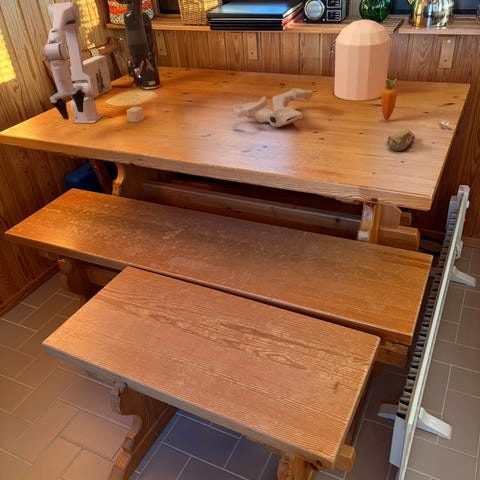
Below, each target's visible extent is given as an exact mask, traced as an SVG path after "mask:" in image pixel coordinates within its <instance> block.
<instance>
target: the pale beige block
mask: <svg viewBox="0 0 480 480" xmlns="http://www.w3.org/2000/svg"><path fill="white" fill-rule="evenodd" d="M125 112H126V116H127V120H128V122H130V123H131V122H133V123H139V122H140V121H143V120H144V119H145V114H144V111H143V107H137V106H132V107H130V108H128V109H126V110H125Z"/></svg>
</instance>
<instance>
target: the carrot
mask: <svg viewBox="0 0 480 480" xmlns="http://www.w3.org/2000/svg"><path fill="white" fill-rule="evenodd" d="M397 81H398V78H395V79H394V80H393V82H391V79H390V78H387V79H386V89H384V90H383V91H382V96H381V97H380V98H381V100H380V101H381V102H380V104H381V112H382V113H381V114H382V117H383V119H384V120H385V121H386V122H388V121H389V119H390V118H391V117H392V114H393V112H394V109H395V106H396V101H397V96H398V95H397V94H398V91H397V89H395V88H394V86H395V85H396V83H397Z"/></svg>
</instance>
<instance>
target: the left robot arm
mask: <svg viewBox="0 0 480 480" xmlns="http://www.w3.org/2000/svg"><path fill="white" fill-rule="evenodd" d="M80 13H81V12H80V9H79V6H78V4H77V3H76V2H75V1H73V0H72V1H68V2H57V3H52V2H51V3H49V5H48V14H49V17H50V19H51V20H52V28H50V29H49V31H48V37H47V43H46V44H44V45H43V47H42V53H43V56H44V58H45V60H46V62H47V65H48V67H49V68H50V69H51V72H52V76H53V80H54V83H55V86H56V90H57V92H56V93H55V94H53V95H51V96H50V97H49V99H50V103H51V104H52V106H53V107H55V109H56V110H57V111H58V112H59V114H60V115H61V117H62V118H63V120H65V121H66V120H69V119H70V117H69V112H68V108H67V101H64V100H63V99H66V98H68V97H70V98H71V99H72V100H71V102H70V109H71V112H72V115H73V119H74V121H73V122H74V123H75V124H93V123H96V122H97V121H99V120H100V119H102V118H103V116H104V115H103V114H99V112H98V108H97V104H96V101H95V98H96V97H95V95H96V87H95V84H94V80H93V78H92V77H91V76H89V75H88V74H86V73H85V70H84V64H83V61H84V60H83V59H84V58H83V53H82V48H81V42H80V37H79V28H80V27H81V26H82V19H81V14H80ZM66 44H67V45H66ZM67 51H68V54H67ZM68 56H69V61H70V66H71V67H72V73H73V74H71V71H70V68H69V66H68V62H67V58H68ZM79 81H87V82H79ZM75 82H77V83H75ZM94 97H95V98H94Z"/></svg>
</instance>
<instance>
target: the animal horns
mask: <svg viewBox="0 0 480 480" xmlns="http://www.w3.org/2000/svg"><path fill="white" fill-rule="evenodd" d="M313 93H314V92H313V91H312V90H307V89H302V88H292V89H291V90H289V91H286V92H283V93H281V94H277V95H275V96H272V102H271V103H272V107H273V109H272V110H271V109H266V108H265V107H267V106H268V98H267V96H266V95H264V96H262V97H261V98H260V99H259V100H258V101H257V102H256V101H251V102H246V103H240V104H234V105H232V106H231V107H232V108H231V109H232V112H233V113H234V115H235V116H237V118H244V117H246V118H248V119H252V120H257V122H259V123H269V124H270V126H272V127H274V128H280V127H284V126H287V125H290V124H294V123H296V121H298V120H301V119H302V112H301V111H300V110H297V109H295V108H294V107H291V106H288V105H289V103H290V102H292V101H299V100H308V101H310V100H311V99H312V97H313Z"/></svg>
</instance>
